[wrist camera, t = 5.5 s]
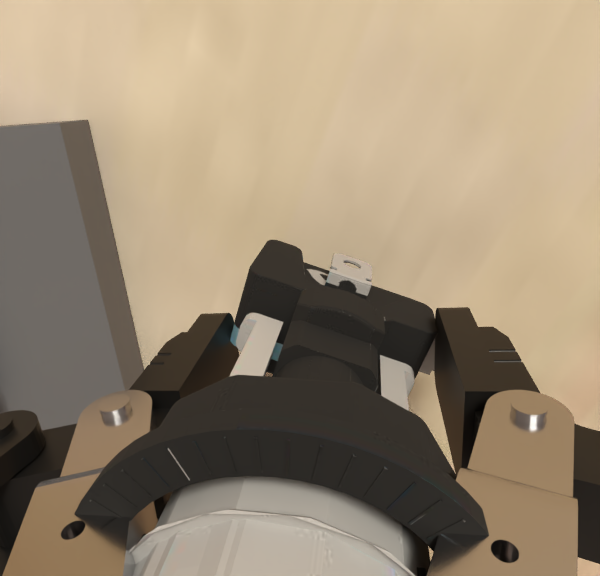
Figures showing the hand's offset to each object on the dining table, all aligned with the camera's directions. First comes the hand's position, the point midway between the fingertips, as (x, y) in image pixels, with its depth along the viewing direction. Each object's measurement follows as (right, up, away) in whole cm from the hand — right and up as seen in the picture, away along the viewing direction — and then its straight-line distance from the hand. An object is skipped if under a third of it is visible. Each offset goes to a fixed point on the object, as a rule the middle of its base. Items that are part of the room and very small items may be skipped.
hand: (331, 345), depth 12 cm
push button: (+1, +1, +2) cm, 2 cm away
